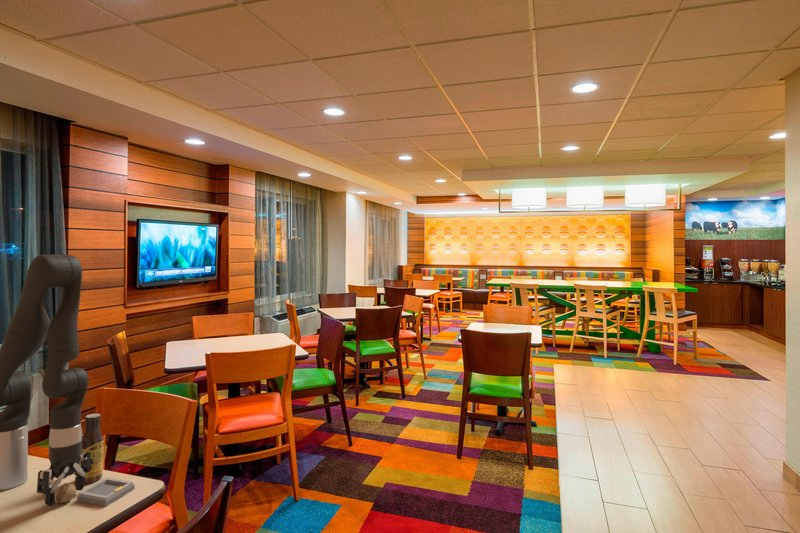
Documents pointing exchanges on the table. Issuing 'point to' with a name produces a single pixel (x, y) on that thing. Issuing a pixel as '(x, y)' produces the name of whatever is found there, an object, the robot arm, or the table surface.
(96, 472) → the sauce bottle
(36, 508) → the table surface
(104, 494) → the grey square tray
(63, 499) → the door knob
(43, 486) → the robot arm
